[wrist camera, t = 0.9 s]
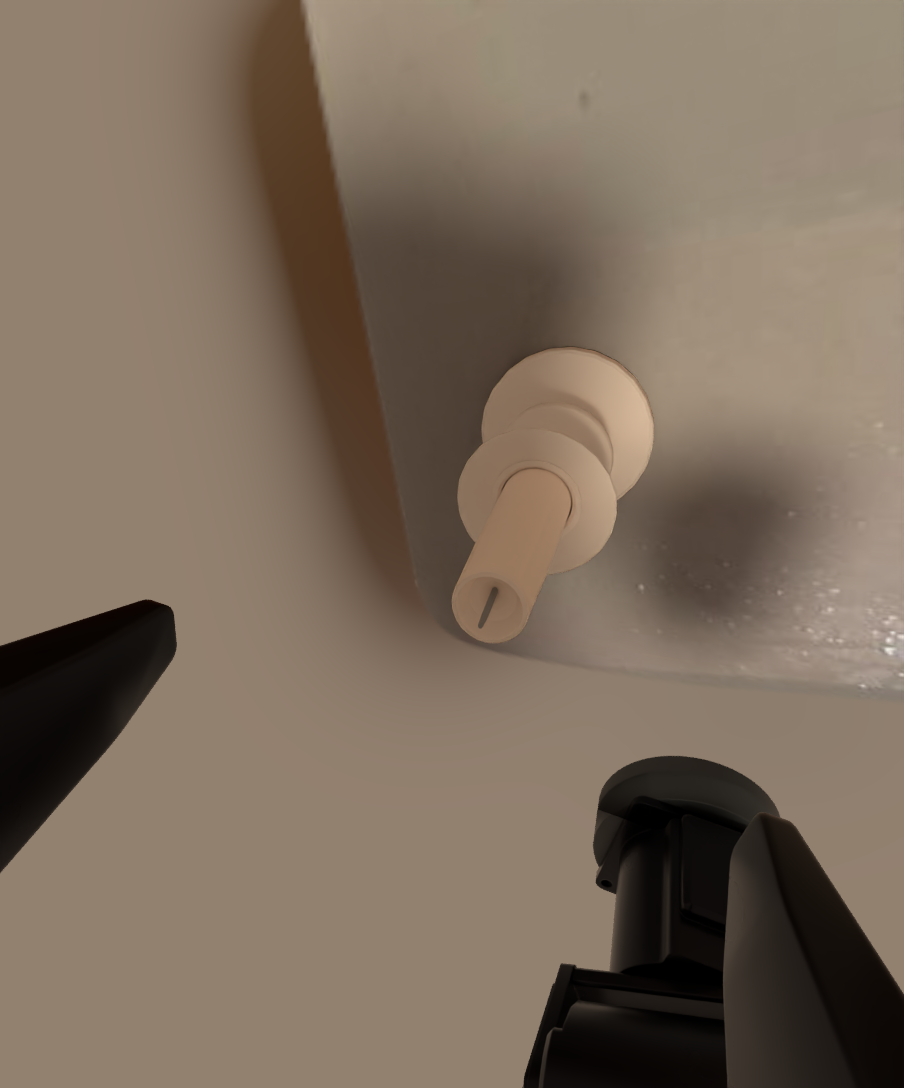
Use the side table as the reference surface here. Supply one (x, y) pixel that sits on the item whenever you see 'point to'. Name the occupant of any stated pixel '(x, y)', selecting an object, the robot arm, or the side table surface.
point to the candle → (546, 480)
